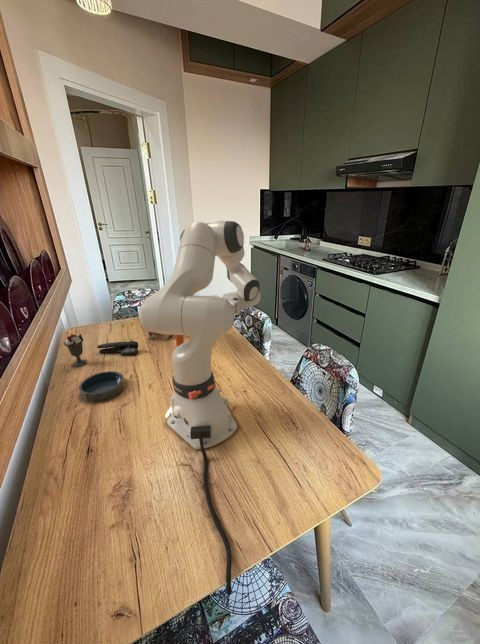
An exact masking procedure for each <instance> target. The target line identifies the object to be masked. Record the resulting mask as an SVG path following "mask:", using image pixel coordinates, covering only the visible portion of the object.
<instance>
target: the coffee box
mask: <svg viewBox="0 0 480 644" xmlns="http://www.w3.org/2000/svg"><path fill="white" fill-rule="evenodd" d="M147 333H148V334H147V335H148V339H149V340H162V341H167V340H168V339H169V338H170V336H171V335H168V334H159V333H155V332H151V331H147Z"/></svg>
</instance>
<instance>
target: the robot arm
mask: <svg viewBox="0 0 480 644" xmlns="http://www.w3.org/2000/svg"><path fill="white" fill-rule="evenodd" d="M244 244H245V235H244V232H243V228H242V226H241V225H240V224H239V223H238V222H236V221H233V220H217V221H215V222H206V223H205V222H202V221H194V222H191V223H189V224H188V225H187V226H186V227H185V228H184V229H183V230H182V232H181V234H180V238H179V245H178V249H177V254H176V259H175V262H174V263H175V264H174V267H173V271H172V273H171V275H170V277H169V279H168V280H167V282H166V283H165V284H164V285H163V286H162V287H161V288H160V289H158V291H156V292H155V293H153V294H152V295H150V296H147V297H146V298H145V299H144V300H143V301H142V303H141V305H140V306H139V311H138V318H139V322H140V324H141V326H142V327H143V329H144V330H146V331H147V332H148V331H151V332H155V333H159V334H168V335H170V336H173V335H174V336H175V335H183V336H186V337H187V336H188V337H189V340H187V341H184V343H182V344H181V345H179V346H178V347H177V346H176V348H175V349H174V350H173V352H172V354H171V364H172V372H173V374H172V387H173V393H172V394H171V397H170V398H169V402H170V404H169V405H170V407H169V409H168V410H167V412H166V414H165V418H168V419H167V420H166V425H167V426H168V427H169V428H170V429H171V430H172V431H174V432H175V433H176V434H177V435H178V436H179V437H180V438H181V439H183V440H184V441H185V442H186V443H187V444H188V445H190V446H191V447H192V448H193V449H194V450H200V451H201V454H202V458H203V474H202V475H203V476H202V481H203V482H202V483H203V489H204V494H205V499H206V503H207V506H208V509H209V512H210V516H211V518H212V522H213V524H214V525H215V527H216V529H217V531H218V533H219V535H220V537H221V539H222V542H223V545H224V548H225V554H226V569H225V588H226V591H225V592H226V595H228V596H230V595H232V591H233V590H232V562H233V561H232V560H233V559H232V550H231V546H230V542H229V539H228V537H227V535H226V532H225V530H224V529H223V526H222V524H221V523H220V521H219V519H218V516H217V514H216V511H215V508H214V504H213V502H212V498H211V495H210V489H209V483H208V465H209V464H208V456H207V451H206V450H205V449H209V448H211V447H214V446H217V445H218V444H221V443H222V442H224V441H225V440H227V439H229V438H230V437H232V435H234V434H235V433H236V431H237V429H238V424H237V422H236V420H235V419H234V417H233V415H232V413H231V412H230V410H229V408H228V406H229V400H228V398H227V397H222V395H221V393H222V390H221V388H218V386H217V385H216V380H215V376H214V372H213V370H212V353H213V349H214V346H215V345H216V343H217V342H218V341H219V339H221V338H222V337H223V336H224V335H226V334H227V333H228V332H229V331H230V330H232V327H233V325H234V323H235V319H236V318H235V317H236V316H235V315H241V309H248V308H252V307H254V306H257V304H259V303H260V301H261V297H262V296H261V292H260V287H261V284H260V281H259V280H258V279H257V277H256V276H255V275H253V274H252V272H250V271H249V270H248V269H247V267H246V266H245V265H244V264H243V263H242V260H243V259H244V257H245V254H246V253H245V247H244ZM216 257H217V258H218V259H219V260H220V262H221V263H222V264H223V265H225V268H226V273H227V274H226V275H227V279H228V280H229V281H230V283H232V284H233V285H234V286H235V288H236V289H237V290H236V291H232V292H228V293H224V294H222V296H219V295H217V294H216V295H215V294H214V295H195V294H197V293H198V292H200V291H202V290H204V289H207V288H208V287H209V285H210V284H211V282H213V278H214V270H215V264H216V263H215V261H216ZM169 415H170V416H169ZM226 583H227V584H226Z"/></svg>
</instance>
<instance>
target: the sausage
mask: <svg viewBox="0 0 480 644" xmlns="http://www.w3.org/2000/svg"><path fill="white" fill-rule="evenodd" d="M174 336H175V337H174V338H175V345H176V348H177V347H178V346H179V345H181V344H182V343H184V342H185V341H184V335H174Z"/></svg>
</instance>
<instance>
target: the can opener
mask: <svg viewBox="0 0 480 644" xmlns="http://www.w3.org/2000/svg"><path fill="white" fill-rule="evenodd" d="M96 348H97V349H99V354H109V353H115V352H120V355H121V356H123V357H132V356H135V355H136V354H137V353H138V352H139V349H138V348H139V343H138V341H135V340H133V339H131V340H129V341H124V340H121V341H115V342H107V343H101V344H98V345H97V347H96Z"/></svg>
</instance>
